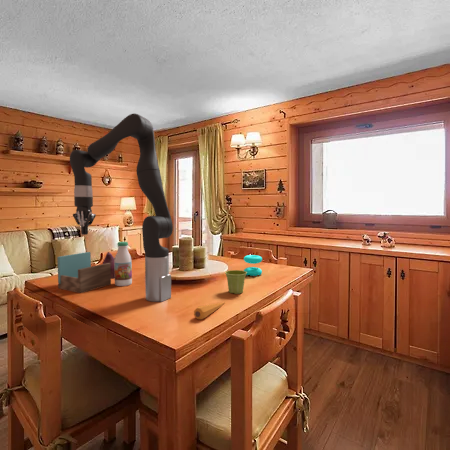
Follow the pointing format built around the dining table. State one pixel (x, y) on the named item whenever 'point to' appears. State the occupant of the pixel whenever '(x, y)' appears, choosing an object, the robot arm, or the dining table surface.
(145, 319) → the dining table surface
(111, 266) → the vegetable
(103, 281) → the wooden box
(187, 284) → the dining table surface
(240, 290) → the plant pot
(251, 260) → the donuts
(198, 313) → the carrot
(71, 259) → the teal card
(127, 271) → the milk bottle
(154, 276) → the robot arm
